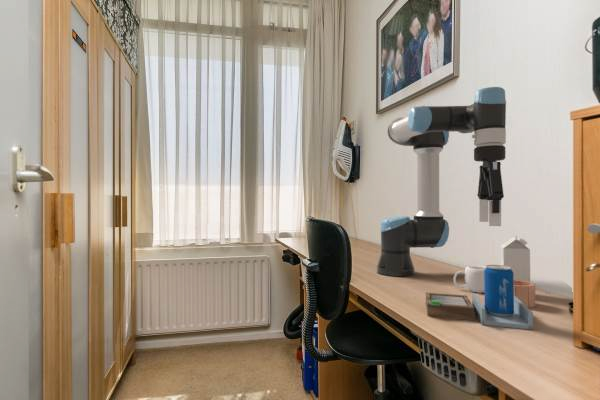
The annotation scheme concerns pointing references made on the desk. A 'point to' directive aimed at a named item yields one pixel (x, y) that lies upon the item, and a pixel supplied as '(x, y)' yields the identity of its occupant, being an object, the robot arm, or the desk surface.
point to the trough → (516, 320)
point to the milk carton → (516, 258)
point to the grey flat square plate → (449, 300)
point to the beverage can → (499, 290)
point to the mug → (473, 278)
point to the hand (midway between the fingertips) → (489, 223)
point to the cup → (525, 292)
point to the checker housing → (449, 308)
